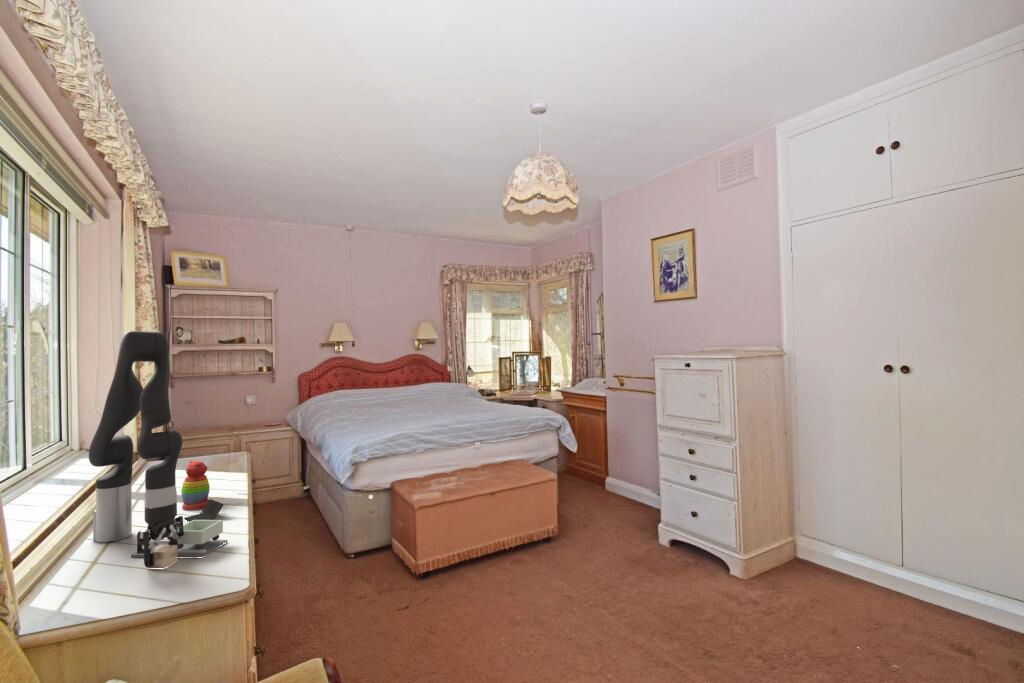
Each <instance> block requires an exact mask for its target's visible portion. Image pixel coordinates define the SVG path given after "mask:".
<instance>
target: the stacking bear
mask: <svg viewBox="0 0 1024 683" xmlns="http://www.w3.org/2000/svg"><path fill="white" fill-rule="evenodd" d="M207 471H208V466H207V465H206V464H205V463H204V462H203V461H200V460H196V461H193V460H190V461H189V462H188V465H187V466H186V468H185V472H186V473H185V474H186V476H185V478H184V480H183V483H182V485H181V486H182V487H181V490H180V491H181V498H182V502H183V503H182V506H181V509H182V510H184V511H194V510H201V509H202V510H203V509H204V507H205V506H206V504H207V503H208V501H209V500H210V499H208V497H209V494H210V490H211V489H210V483H209V479H208V477H207V476H208V475H206V472H207Z"/></svg>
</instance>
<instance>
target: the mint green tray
mask: <svg viewBox="0 0 1024 683" xmlns="http://www.w3.org/2000/svg"><path fill="white" fill-rule="evenodd" d="M183 529H184V535H183V536H180V537H179V540H178V549H181V548H183V546H184V544H196V548H197V549H198V550H200V549H202V548H203V547H204V544H203V543H205V542H207V541H208V540H214V541H215V540H219V539H220V535H221V534H222V533H224V520H223V519H215V520H192V521H190V522H188V521H187V523H183ZM177 532H179V529H177Z"/></svg>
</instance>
